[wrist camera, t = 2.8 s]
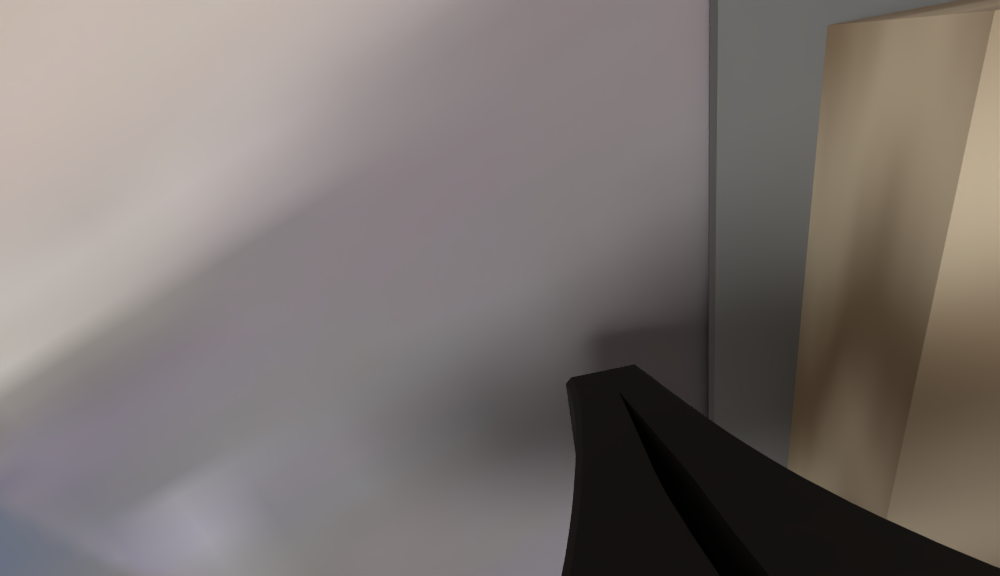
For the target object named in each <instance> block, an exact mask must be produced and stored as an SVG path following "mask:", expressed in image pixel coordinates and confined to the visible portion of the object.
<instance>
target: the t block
mask: <svg viewBox="0 0 1000 576" xmlns="http://www.w3.org/2000/svg"><path fill="white" fill-rule="evenodd" d="M787 469H789V470H791V471H793V472H794V473H796V474H798V475H800V476H802V477H803V478H805V479H807V480H809V481H811V482H813V483H815V484H817V485H819V486H821V487H823V488H824V489H826V490H828V491H830V492H832V493H834V494H836V495H838V496H840V497H842V498H844V499H845V500H847V501H849V502H851V503H853V504H855V505H857V506H860V507H862V508H864V509H866V510H868V511H870V512H872V513H874V514H876V515H878V516H880V517H882V518H885V519H887V520H889V521H891V522H894V523H896V524H898V525H900V526H902V527H905V528H907V529H909V530H911V531H914V532H916V533H918V534H920V535H922V536H925V537H927V538H929V539H931V540H934V541H936V542H938V543H940V544H943V545H945V546H947V547H950V548H952V549H954V550H957V551H959V552H962V553H964V554H967V555H969V556H971V557H974V558H976V559H979V560H981V561H983V562H986V563H988V564H991V565H993V566H996V567H998V568H1000V0H957V1H952V2H947V3H942V4H936V5H931V6H926V7H921V8H916V9H910V10H905V11H900V12H895V13H890V14H884V15H879V16H874V17H869V18H863V19H858V20H853V21H848V22H843V23H837V24H832V25H828V27H827V38H826V49H825V60H824V71H823V82H822V93H821V104H820V115H819V126H818V137H817V148H816V159H815V170H814V181H813V192H812V203H811V214H810V225H809V236H808V247H807V258H806V269H805V280H804V291H803V302H802V313H801V324H800V335H799V346H798V357H797V368H796V379H795V390H794V401H793V412H792V423H791V434H790V445H789V456H788V467H787Z"/></svg>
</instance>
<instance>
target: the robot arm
mask: <svg viewBox="0 0 1000 576" xmlns="http://www.w3.org/2000/svg"><path fill="white" fill-rule="evenodd" d="M566 387H567V394H568V402H569V409H570V416H571V423H572V430H573V437H574V444H575V451H576V466H575V480H574V493H573V505H572V514H571V522H570V529H569V536H568V542H567V549H566V555H565V561H564V566H563V571H562V576H1000V568H998V567H996V566H993V565H991V564H988V563H986V562H983V561H981V560H979V559H976V558H974V557H971V556H969V555H967V554H964V553H962V552H959V551H957V550H954V549H952V548H950V547H947V546H945V545H943V544H940V543H938V542H936V541H934V540H931V539H929V538H927V537H925V536H922V535H920V534H918V533H916V532H914V531H911V530H909V529H907V528H905V527H902V526H900V525H898V524H896V523H894V522H891V521H889V520H887V519H885V518H882V517H880V516H878V515H876V514H874V513H872V512H870V511H868V510H866V509H864V508H862V507H860V506H857V505H855V504H853V503H851V502H849V501H847V500H845V499H844V498H842V497H840V496H838V495H836V494H834V493H832V492H830V491H828V490H826V489H824V488H823V487H821V486H819V485H817V484H815V483H813V482H811V481H809V480H807V479H805V478H803V477H802V476H800V475H798V474H796V473H794V472H793V471H791V470H789V469H787V468H786V467H784V466H782V465H780V464H779V463H777V462H775V461H774V460H772V459H770V458H769V457H767V456H765V455H764V454H762V453H760V452H759V451H757V450H756V449H754V448H752V447H751V446H749V445H747V444H746V443H744V442H743V441H741V440H740V439H738V438H736V437H735V436H733V435H732V434H730V433H729V432H727V431H726V430H724V429H723V428H722V427H720V426H719V425H717V424H716V423H714V422H713V421H711V420H710V419H708V418H707V417H705V416H704V415H702V414H701V413H700V412H698V411H697V410H695V409H694V408H693V407H691V406H690V405H688V404H687V403H686V402H684V401H683V400H682V399H680V398H679V397H677V396H676V395H675V394H673V393H672V392H671V391H669V390H668V389H667V388H665V387H664V386H663V385H661V384H660V383H659V382H657V381H656V380H655V379H653V378H652V377H651V376H649V375H648V374H647V373H646V372H644V371H643V370H641V369H640V368H639V367H637V366H636V365H630V366H625V367H620V368H615V369H610V370H606V371H601V372H596V373H591V374H586V375H581V376H576V377H572V378H570V380H569V381H568V382H567V383H566Z"/></svg>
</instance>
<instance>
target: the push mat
mask: <svg viewBox="0 0 1000 576" xmlns="http://www.w3.org/2000/svg"><path fill="white" fill-rule="evenodd" d="M952 1H957V0H710V101H709V414H708V419H710V420H711V421H713V422H714V423H716V424H717V425H719V426H720V427H722V428H723V429H724V430H726V431H727V432H729V433H730V434H732V435H733V436H735V437H736V438H738V439H740V440H741V441H743V442H744V443H746V444H747V445H749V446H751V447H752V448H754V449H756V450H757V451H759V452H760V453H762V454H764V455H765V456H767V457H769V458H770V459H772V460H774V461H775V462H777V463H779V464H780V465H782V466H784V467H786V468H787V467H788V456H789V445H790V434H791V423H792V412H793V401H794V390H795V379H796V368H797V357H798V346H799V335H800V324H801V313H802V302H803V291H804V280H805V269H806V258H807V247H808V236H809V225H810V214H811V203H812V192H813V181H814V170H815V159H816V148H817V137H818V126H819V115H820V104H821V93H822V82H823V71H824V60H825V49H826V38H827V27H828V25H832V24H837V23H843V22H848V21H853V20H858V19H863V18H869V17H874V16H879V15H884V14H890V13H895V12H900V11H905V10H910V9H916V8H921V7H926V6H931V5H936V4H942V3H947V2H952Z"/></svg>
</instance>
